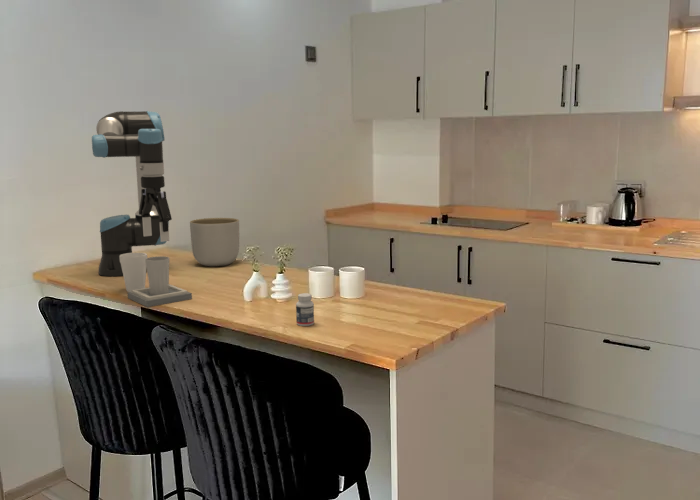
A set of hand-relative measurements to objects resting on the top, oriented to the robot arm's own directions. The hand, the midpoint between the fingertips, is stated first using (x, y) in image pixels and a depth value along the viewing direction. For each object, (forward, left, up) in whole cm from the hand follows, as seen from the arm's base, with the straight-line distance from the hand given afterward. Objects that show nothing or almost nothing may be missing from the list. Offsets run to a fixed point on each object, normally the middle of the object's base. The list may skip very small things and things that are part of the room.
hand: (156, 238), depth 221 cm
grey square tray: (0, 0, -21) cm, 21 cm away
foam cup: (-18, -1, -21) cm, 27 cm away
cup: (0, 0, -19) cm, 19 cm away
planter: (-41, +45, -21) cm, 64 cm away
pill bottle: (+58, +19, -21) cm, 65 cm away
